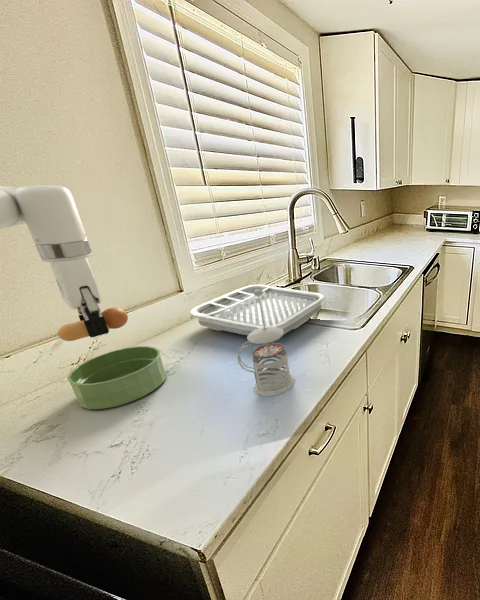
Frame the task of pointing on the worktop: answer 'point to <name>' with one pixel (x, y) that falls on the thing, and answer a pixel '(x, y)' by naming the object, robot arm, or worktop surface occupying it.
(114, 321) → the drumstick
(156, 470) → the worktop surface
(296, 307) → the dish rack
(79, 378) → the green shallow bowl
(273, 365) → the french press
